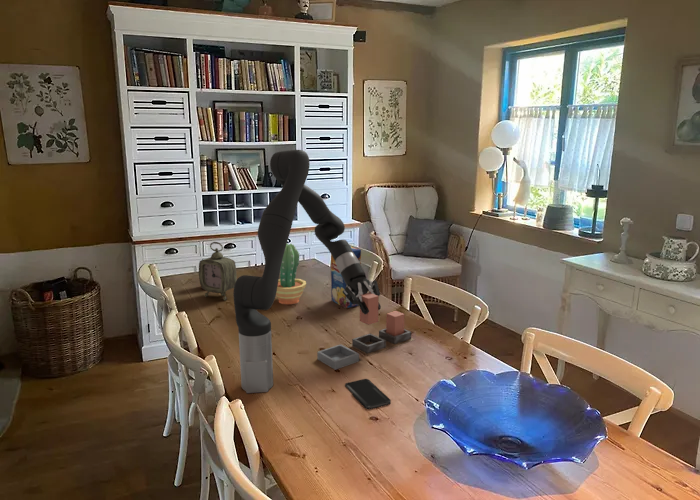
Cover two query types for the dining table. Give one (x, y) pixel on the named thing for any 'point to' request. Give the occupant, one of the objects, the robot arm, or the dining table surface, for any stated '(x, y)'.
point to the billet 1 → (370, 308)
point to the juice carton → (341, 282)
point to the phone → (367, 394)
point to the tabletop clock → (217, 273)
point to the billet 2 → (395, 323)
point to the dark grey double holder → (380, 341)
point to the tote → (338, 356)
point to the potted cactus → (289, 277)
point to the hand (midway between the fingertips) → (372, 311)
